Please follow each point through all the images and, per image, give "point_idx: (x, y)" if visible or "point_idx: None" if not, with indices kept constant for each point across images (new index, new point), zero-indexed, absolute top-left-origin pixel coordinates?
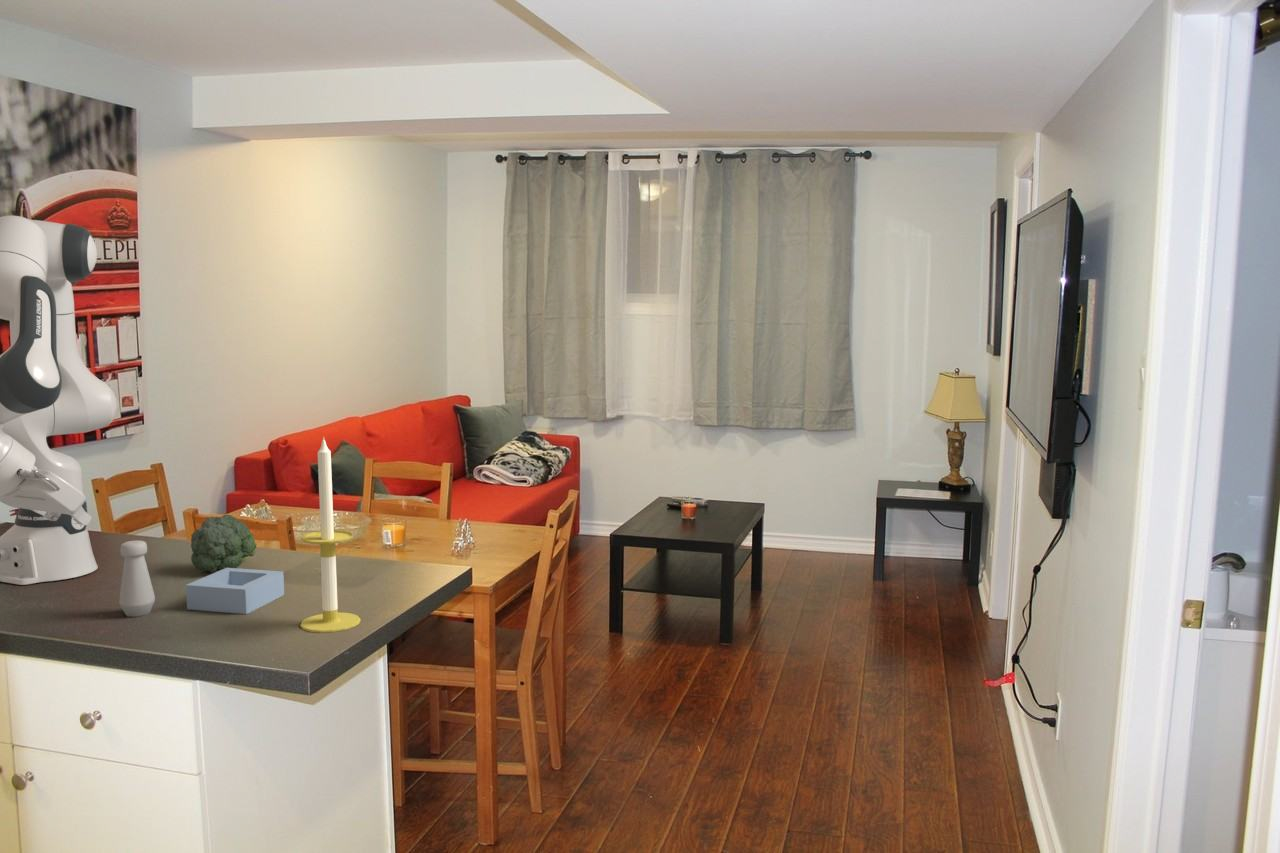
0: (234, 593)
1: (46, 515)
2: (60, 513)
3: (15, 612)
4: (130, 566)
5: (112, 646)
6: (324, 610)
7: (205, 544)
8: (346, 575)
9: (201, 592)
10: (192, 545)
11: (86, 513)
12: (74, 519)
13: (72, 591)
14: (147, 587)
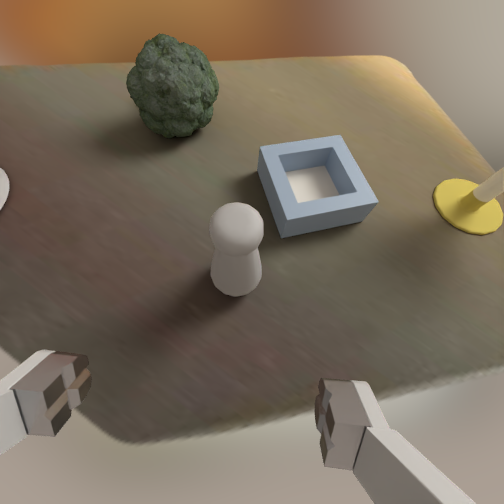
0: (359, 209)
1: (43, 434)
2: (82, 357)
3: None
4: (245, 259)
5: None
6: (484, 201)
7: (177, 104)
8: (321, 96)
9: (309, 220)
10: (152, 109)
11: (383, 416)
12: (337, 466)
13: (49, 251)
14: (259, 258)
